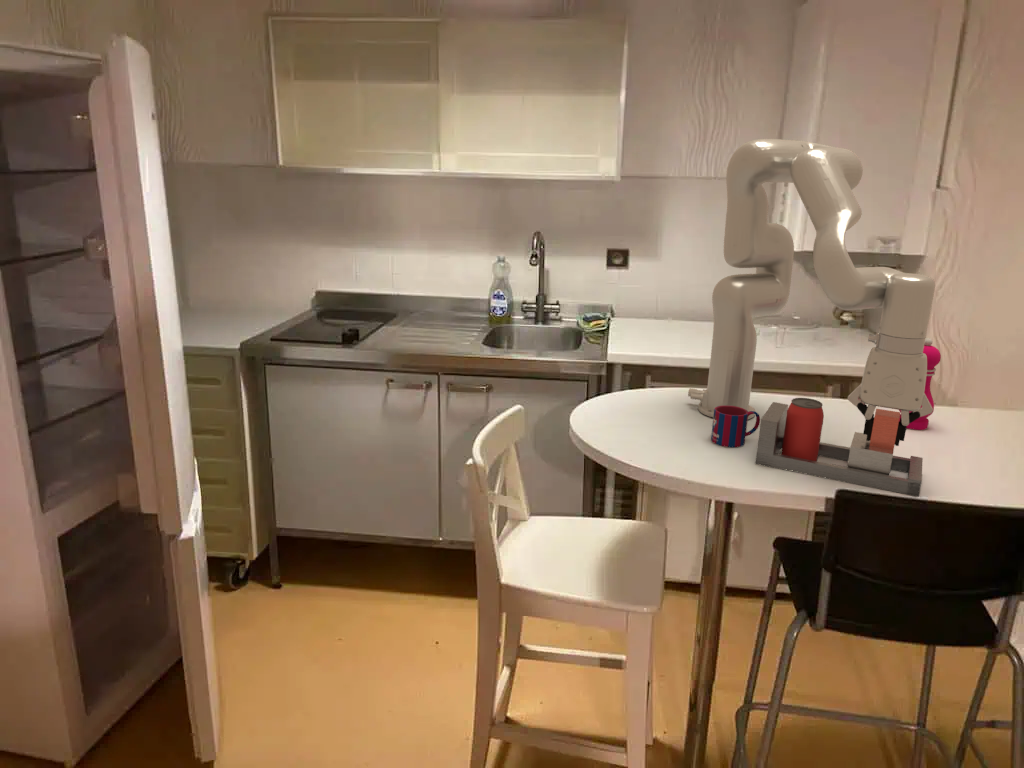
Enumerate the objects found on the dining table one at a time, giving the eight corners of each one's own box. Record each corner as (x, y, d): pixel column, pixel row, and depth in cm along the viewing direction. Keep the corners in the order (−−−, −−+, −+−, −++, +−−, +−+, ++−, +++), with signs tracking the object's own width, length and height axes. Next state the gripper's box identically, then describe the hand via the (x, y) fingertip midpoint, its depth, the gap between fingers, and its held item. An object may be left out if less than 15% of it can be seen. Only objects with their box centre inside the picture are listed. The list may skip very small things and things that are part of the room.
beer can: (799, 469, 145) (808, 409, 141) (773, 457, 150) (781, 399, 147) (823, 464, 148) (833, 405, 144) (797, 452, 153) (805, 395, 150)
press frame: (755, 463, 147) (760, 419, 144) (767, 443, 157) (772, 402, 155) (918, 496, 134) (928, 448, 132) (919, 472, 145) (928, 427, 142)
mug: (706, 436, 161) (709, 405, 159) (751, 435, 162) (755, 404, 160) (718, 448, 154) (722, 416, 152) (765, 447, 156) (769, 415, 154)
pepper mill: (893, 427, 170) (909, 339, 164) (894, 417, 176) (910, 332, 170) (930, 433, 166) (947, 343, 161) (930, 423, 173) (947, 337, 167)
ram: (845, 476, 141) (855, 415, 138) (850, 460, 149) (859, 402, 145) (887, 485, 138) (898, 422, 134) (889, 468, 146) (900, 408, 142)
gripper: (847, 342, 136) (831, 438, 141) (954, 355, 129) (934, 456, 134) (850, 334, 142) (836, 426, 148) (953, 346, 135) (933, 443, 140)
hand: (882, 440), depth 141 cm, fingers closed on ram, 4 cm apart
